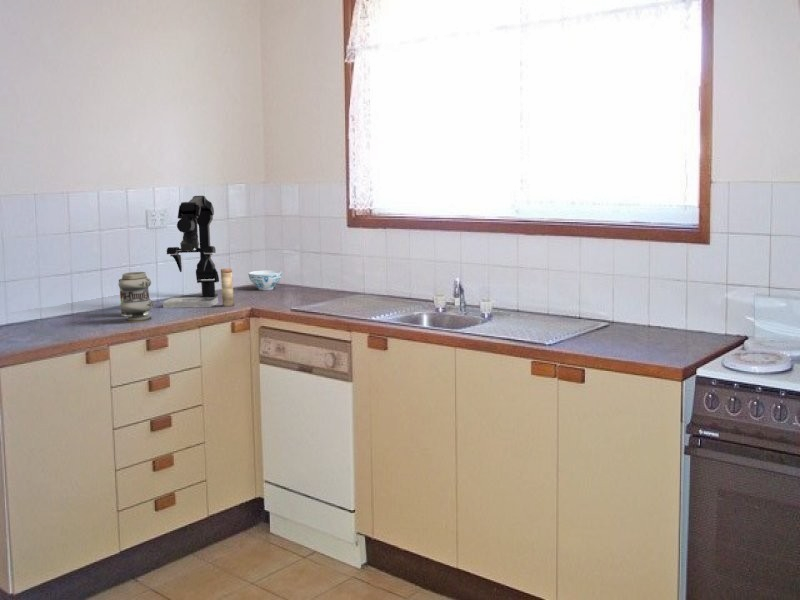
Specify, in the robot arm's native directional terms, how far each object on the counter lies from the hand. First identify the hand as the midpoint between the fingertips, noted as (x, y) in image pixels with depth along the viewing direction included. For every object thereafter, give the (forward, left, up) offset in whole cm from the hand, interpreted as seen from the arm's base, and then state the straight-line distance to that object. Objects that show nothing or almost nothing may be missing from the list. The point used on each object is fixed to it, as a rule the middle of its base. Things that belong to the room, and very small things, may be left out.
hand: (192, 271), depth 387 cm
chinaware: (-46, +19, -14) cm, 52 cm away
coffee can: (+19, -18, -14) cm, 30 cm away
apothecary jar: (+32, -12, -14) cm, 37 cm away
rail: (-2, -2, -14) cm, 14 cm away
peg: (+1, +14, -14) cm, 20 cm away
